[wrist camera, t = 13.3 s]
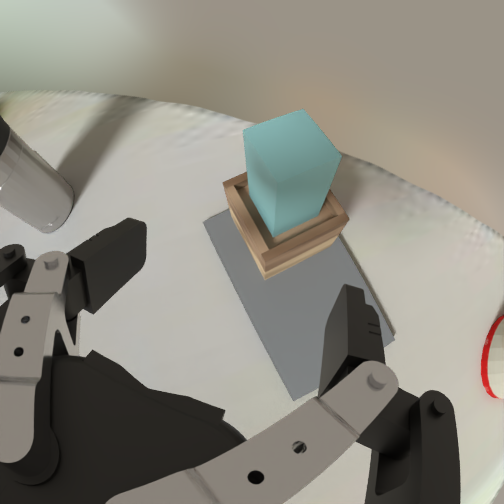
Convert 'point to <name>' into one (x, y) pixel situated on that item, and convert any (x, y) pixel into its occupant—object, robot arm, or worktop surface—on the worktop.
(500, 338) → the kitchen timer
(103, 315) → the worktop surface
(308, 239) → the wooden crate
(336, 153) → the teal brick
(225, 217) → the baseplate
